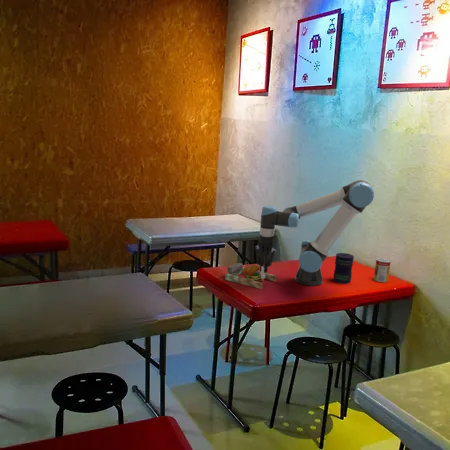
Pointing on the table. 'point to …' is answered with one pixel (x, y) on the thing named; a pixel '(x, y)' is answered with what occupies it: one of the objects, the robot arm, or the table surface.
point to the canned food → (382, 270)
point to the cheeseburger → (252, 273)
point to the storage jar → (343, 268)
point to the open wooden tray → (237, 270)
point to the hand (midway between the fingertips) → (262, 277)
